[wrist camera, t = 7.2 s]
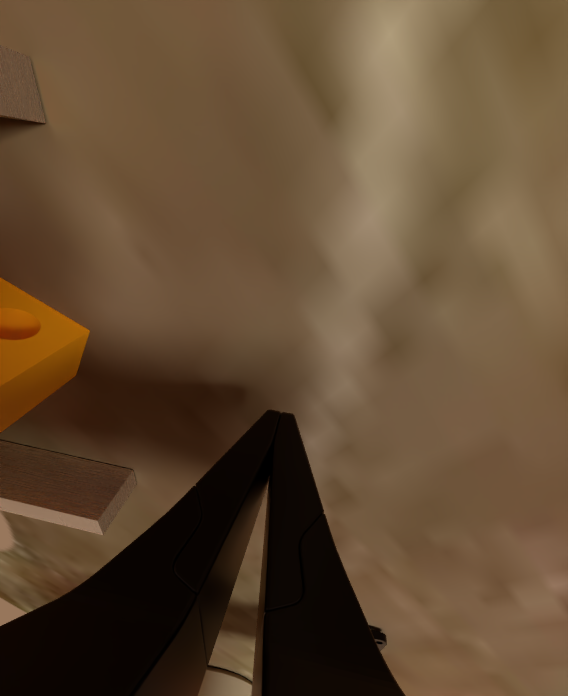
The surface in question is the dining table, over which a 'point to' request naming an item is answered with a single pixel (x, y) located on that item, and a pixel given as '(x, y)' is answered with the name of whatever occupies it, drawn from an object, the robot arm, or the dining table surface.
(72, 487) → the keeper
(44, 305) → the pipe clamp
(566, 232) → the dining table surface
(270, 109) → the dining table surface
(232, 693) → the travel mug
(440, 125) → the dining table surface
